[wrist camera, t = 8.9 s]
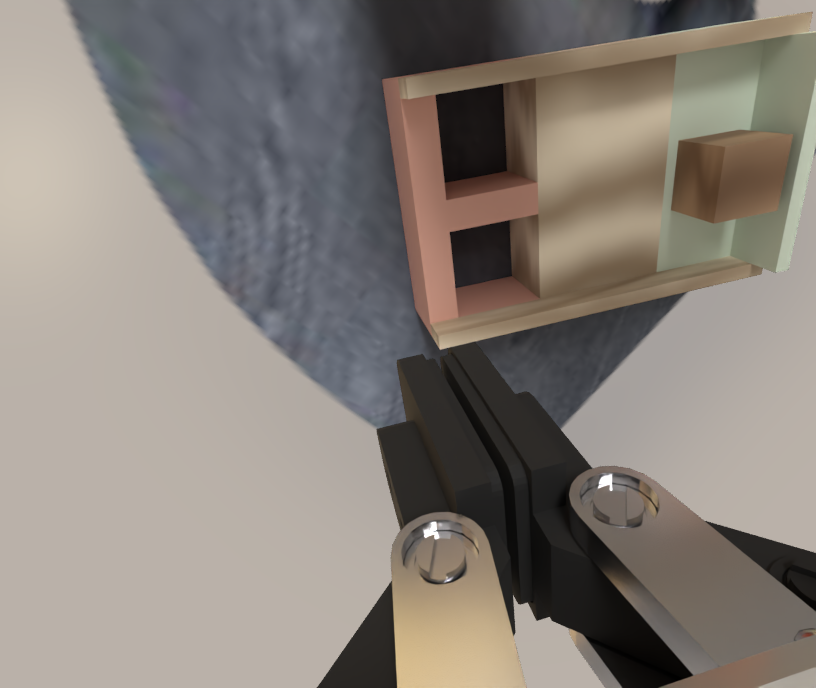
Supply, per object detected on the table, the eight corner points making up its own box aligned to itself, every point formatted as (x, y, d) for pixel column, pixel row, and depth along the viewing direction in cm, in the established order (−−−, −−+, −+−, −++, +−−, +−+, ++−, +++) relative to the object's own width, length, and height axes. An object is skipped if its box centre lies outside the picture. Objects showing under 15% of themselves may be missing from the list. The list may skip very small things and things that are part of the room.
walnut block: (678, 140, 33) (725, 146, 30) (740, 129, 34) (793, 134, 30) (670, 210, 35) (713, 223, 32) (728, 198, 36) (777, 210, 32)
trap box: (381, 79, 32) (414, 77, 25) (721, 24, 36) (846, 7, 28) (415, 309, 40) (448, 363, 32) (692, 247, 43) (785, 283, 35)
